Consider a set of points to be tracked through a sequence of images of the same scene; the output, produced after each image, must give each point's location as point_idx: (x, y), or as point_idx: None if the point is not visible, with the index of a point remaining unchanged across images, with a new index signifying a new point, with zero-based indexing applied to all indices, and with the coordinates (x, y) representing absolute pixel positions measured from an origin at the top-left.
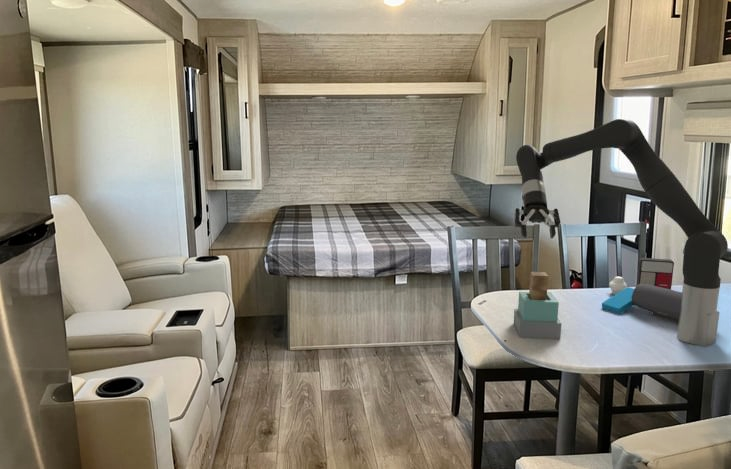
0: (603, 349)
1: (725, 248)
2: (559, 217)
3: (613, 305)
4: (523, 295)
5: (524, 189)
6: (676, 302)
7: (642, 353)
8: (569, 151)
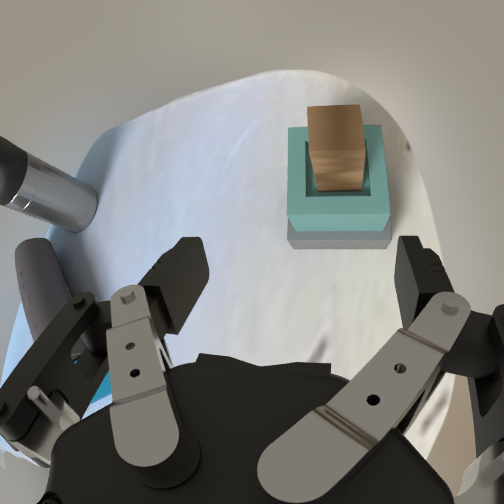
0: (228, 133)
1: None
2: (40, 336)
3: None
4: (380, 174)
5: None
6: (42, 269)
7: (174, 133)
8: None
